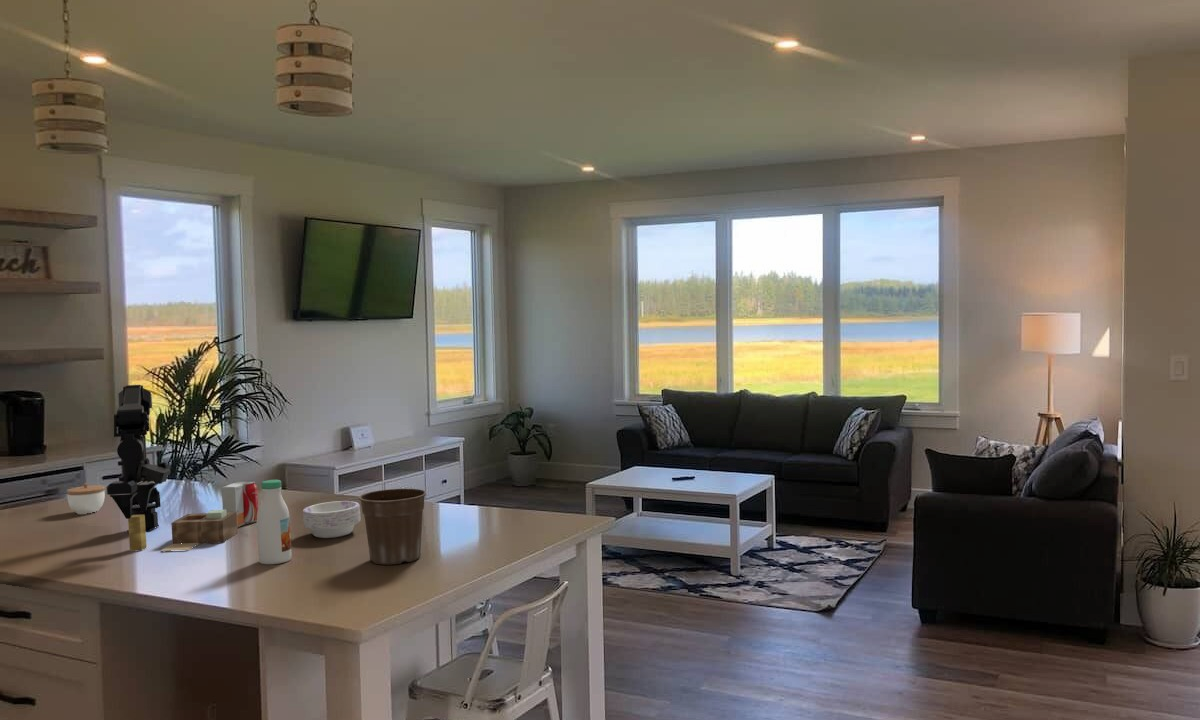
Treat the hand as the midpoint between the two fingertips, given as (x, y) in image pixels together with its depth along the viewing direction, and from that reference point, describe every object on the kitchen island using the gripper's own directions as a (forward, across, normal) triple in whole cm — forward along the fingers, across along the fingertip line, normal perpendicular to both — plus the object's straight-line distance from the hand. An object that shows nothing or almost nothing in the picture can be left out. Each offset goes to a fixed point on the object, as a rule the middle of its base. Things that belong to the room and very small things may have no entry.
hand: (136, 514), depth 245 cm
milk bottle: (+9, -18, -41) cm, 46 cm away
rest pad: (+9, -1, -11) cm, 14 cm away
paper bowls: (+10, +8, -49) cm, 51 cm away
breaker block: (+9, +9, -14) cm, 19 cm away
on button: (+5, +9, -17) cm, 20 cm away
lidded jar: (+10, +53, +39) cm, 66 cm away
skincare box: (+10, +24, -17) cm, 31 cm away
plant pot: (+9, -21, -71) cm, 75 cm away
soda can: (+10, +28, -19) cm, 35 cm away
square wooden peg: (+9, 0, 0) cm, 9 cm away
